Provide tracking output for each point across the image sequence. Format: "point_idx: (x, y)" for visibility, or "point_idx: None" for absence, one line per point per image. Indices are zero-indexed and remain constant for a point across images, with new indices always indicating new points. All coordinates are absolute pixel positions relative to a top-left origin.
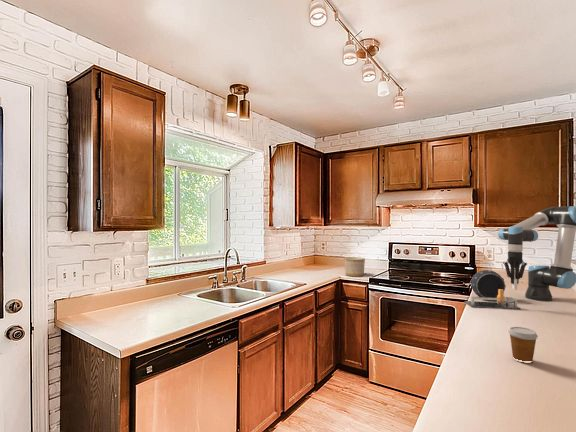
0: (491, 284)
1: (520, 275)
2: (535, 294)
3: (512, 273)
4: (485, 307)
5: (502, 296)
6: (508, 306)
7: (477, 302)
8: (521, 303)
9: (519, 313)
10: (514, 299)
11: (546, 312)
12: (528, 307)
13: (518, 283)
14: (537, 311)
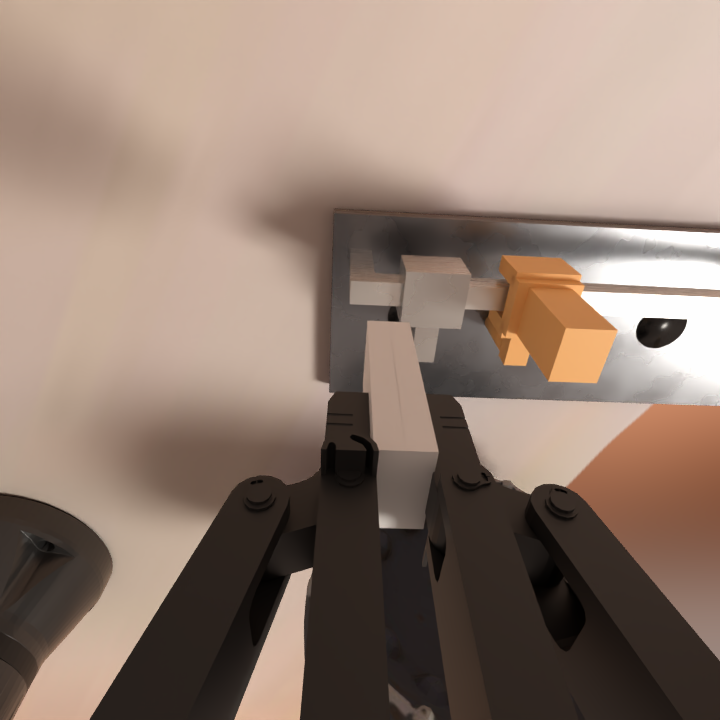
0: (433, 618)
1: (270, 544)
2: (33, 560)
3: (536, 604)
4: (679, 228)
5: (544, 287)
6: None
7: (641, 371)
8: (215, 421)
9: (446, 16)
10: (381, 280)
11: (95, 112)
12: (211, 300)
13: (330, 398)
14: (182, 147)
